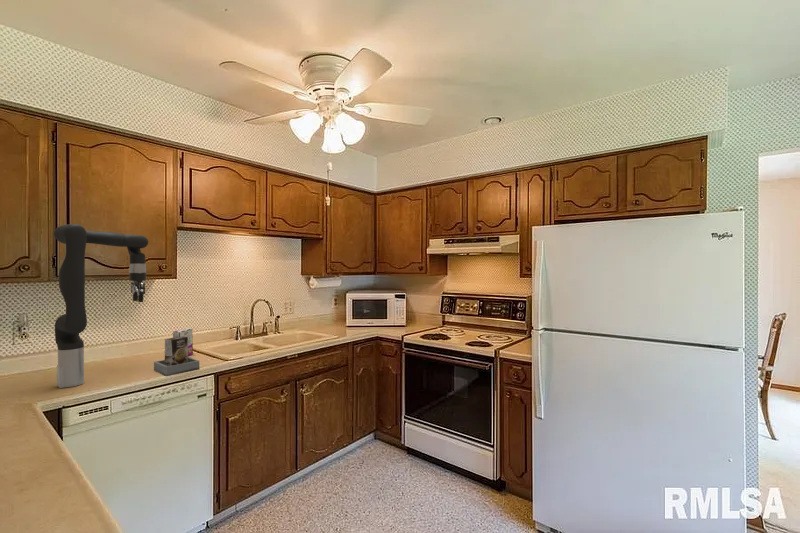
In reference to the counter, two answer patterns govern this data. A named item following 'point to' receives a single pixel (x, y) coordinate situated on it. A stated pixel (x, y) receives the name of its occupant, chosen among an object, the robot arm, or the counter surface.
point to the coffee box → (176, 351)
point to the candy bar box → (186, 333)
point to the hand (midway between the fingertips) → (138, 301)
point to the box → (176, 367)
